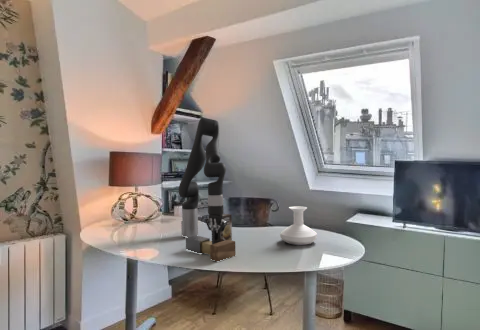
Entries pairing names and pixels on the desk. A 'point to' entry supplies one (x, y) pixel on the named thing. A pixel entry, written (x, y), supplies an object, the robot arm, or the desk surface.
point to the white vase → (298, 229)
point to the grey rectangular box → (195, 243)
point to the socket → (222, 250)
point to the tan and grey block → (209, 243)
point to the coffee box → (227, 228)
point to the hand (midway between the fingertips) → (216, 239)
